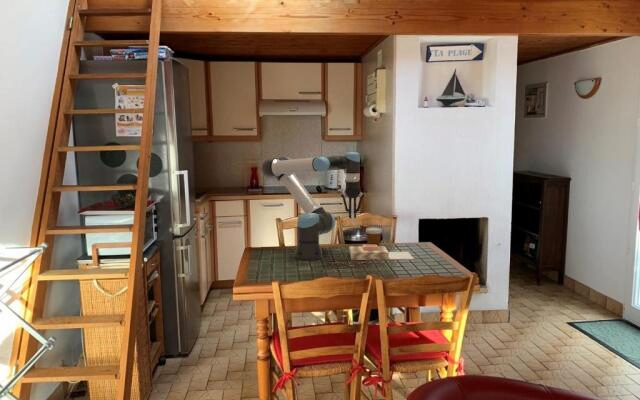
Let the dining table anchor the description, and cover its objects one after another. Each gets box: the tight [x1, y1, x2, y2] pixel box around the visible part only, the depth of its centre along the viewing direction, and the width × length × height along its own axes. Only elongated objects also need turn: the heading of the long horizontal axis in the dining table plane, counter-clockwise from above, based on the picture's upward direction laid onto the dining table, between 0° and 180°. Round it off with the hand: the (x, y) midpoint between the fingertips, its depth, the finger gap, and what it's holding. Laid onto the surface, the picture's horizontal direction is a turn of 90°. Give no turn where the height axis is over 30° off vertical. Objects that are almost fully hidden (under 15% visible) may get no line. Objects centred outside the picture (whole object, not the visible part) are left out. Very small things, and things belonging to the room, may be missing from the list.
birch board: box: [348, 245, 390, 261], centre depth 264 cm, size 20×14×4 cm
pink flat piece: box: [362, 244, 378, 251], centre depth 264 cm, size 8×6×2 cm
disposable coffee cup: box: [365, 227, 383, 246], centre depth 281 cm, size 10×10×12 cm
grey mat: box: [388, 251, 415, 261], centre depth 265 cm, size 13×15×1 cm
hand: (352, 224), depth 262 cm, fingers closed
